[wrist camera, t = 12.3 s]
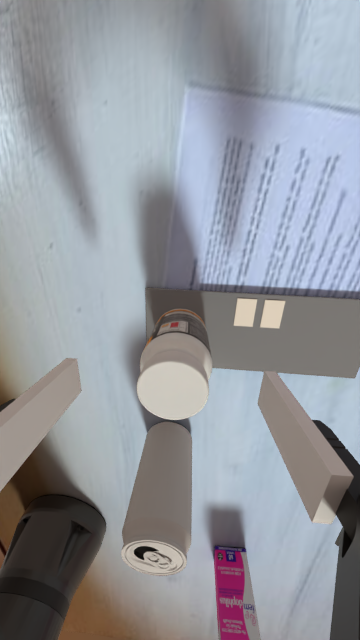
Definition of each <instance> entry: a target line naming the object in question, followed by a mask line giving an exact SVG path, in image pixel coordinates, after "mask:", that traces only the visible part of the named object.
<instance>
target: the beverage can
mask: <svg viewBox="0 0 360 640" xmlns="http://www.w3.org/2000/svg"><path fill="white" fill-rule="evenodd" d="M191 512H192V437H191V435H190V433H189V431H188V430H187V429H186V428H184V427H183V426H181V425H179V424H177V423H174V422H162V423H158V424H156V425H154V426H153V427H151V428H150V430H149V431H148V433H147V437H146V440H145V444H144V448H143V452H142V456H141V460H140V464H139V468H138V472H137V476H136V480H135V483H134V487H133V491H132V495H131V499H130V503H129V507H128V511H127V515H126V519H125V522H124V526H123V530H122V537H123V542H124V545H123V548H122V552H121V555H122V559H123V560H124V562H125V563H126V564H127V565H128V566H130V567H131V568H133V569H135V570H137V571H139V572H142V573H145V574H149V575H156V576H167V575H173V574H176V573H178V572H180V571H182V570H183V569H184V568H185V566H186V563H187V556H186V554H187V552H188V550H189V548H190V545H191Z"/></svg>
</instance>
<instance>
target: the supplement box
mask: <svg viewBox="0 0 360 640" xmlns="http://www.w3.org/2000/svg"><path fill="white" fill-rule="evenodd" d="M214 568H215V585H216V601H217V619H218V636H219V640H261V638H260V632H259V626H258V620H257V614H256V608H255V602H254V596H253V590H252V584H251V578H250V572H249V566H248V560H247V554H246V549H245V548H229V547H221V546H215V553H214Z"/></svg>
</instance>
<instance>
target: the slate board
mask: <svg viewBox="0 0 360 640" xmlns="http://www.w3.org/2000/svg"><path fill="white" fill-rule="evenodd" d="M145 291H146V343H147V342H148V340H149V338H150V336H151V334H152V331H153V329H154V327H155V325H156V323H157V322H158V320H159V319H160V317H161V316H162V315H163V314H165V313H166V312H168V311H170V310H173V309H187V310H190V311H192V312H194V313H196V314H197V315H198V316H199V317H200V318H201V319H202V320H203V322H204V324H205V327H206V331H207V335H208V341H209V346H210V350H211V357H212V368H222V369H235V370H249V371H262V372H264V371H275V372H276V373H289V374H303V375H317V376H330V377H344V378H355V377H356V375H357V372H358V370H359V367H360V299H354V298H335V297H316V296H297V295H278V294H259V293H241V292H222V291H203V290H184V289H165V288H145Z"/></svg>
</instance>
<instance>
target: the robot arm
mask: <svg viewBox="0 0 360 640" xmlns="http://www.w3.org/2000/svg"><path fill="white" fill-rule="evenodd" d="M81 391H82V390H81V383H80V376H79V369H78V362H77V359H73V358H66V359H65V360H64V361H62V362H61V363H60V364H59V365H57V366H56V367H55V368H54V369H52V370H51V371H50V372H49V373H48V374H46V375H45V376H44V377H43V378H41V379H40V380H39V381H38V382H37V383H35V384H34V385H33V386H32V387H30V388H29V389H28V390H27V391H26V392H24V393H23V394H22V395H21V396H19V397H18V398H17V399H12V400H10V401H8V402H6V403H4V404H3V405H1V406H0V491H1V490H2V489H3V487H4V486H5V485H6V484H7V483H8V481H9V480H10V479H11V478H12V476H13V475H14V474H15V473H16V471H17V470H18V469H19V468H20V466H21V465H22V464H23V463H24V462H25V460H26V459H27V458H28V457H29V455H30V454H31V453H32V452H33V450H34V449H35V448H36V447H37V446H38V444H39V443H40V442H41V441H42V439H43V438H44V437H45V436H46V434H47V433H48V432H49V431H50V429H51V428H52V427H53V426H54V425H55V423H56V422H57V421H58V420H59V418H60V417H61V416H62V415H63V413H64V412H65V411H66V410H67V409H68V407H69V406H70V405H71V404H72V402H73V401H74V400H75V399H76V397H77V396H78V395H79V394H80V392H81ZM258 405H259V408H260V410H261V412H262V414H263V416H264V419H265V421H266V423H267V425H268V427H269V430H270V432H271V434H272V436H273V438H274V440H275V443H276V445H277V447H278V449H279V451H280V454H281V456H282V458H283V460H284V462H285V464H286V467H287V469H288V471H289V473H290V475H291V478H292V480H293V482H294V484H295V486H296V488H297V491H298V493H299V495H300V497H301V499H302V502H303V504H304V506H305V508H306V510H307V512H308V515H309V517H310V519H311V521H312V522H313V523H324V524H332V522H333V520H334V518H335V516H336V515H337V517H338V519H339V520H340V522H341V524H342V526H343V528H342V530H341V532H340V534H339V536H338V538H337V540H336V542H335V544H336V545H337V546H339V554H338V563H337V573H336V583H335V593H334V603H333V613H332V622H331V632H330V640H360V465H359V463H358V462H357V461H356V460H355V458H354V457H353V456H352V455H351V454H350V452H349V451H348V450H347V449H345V446H344V445H343V444H342V443H341V441H339V439H338V438H337V436H336V435H335V434H334V433H333V431H332V430H331V429H330V428H329V427H327V426H326V425H325V424H324V423H322V422H321V421H319V420H311V418H310V417H309V416H308V414H307V413H306V412H305V410H304V409H303V408H302V406H301V405H300V404H299V402H298V401H297V400H296V398H295V397H294V395H293V394H292V393H291V391H290V390H289V389H288V387H287V386H286V385H285V383H284V382H283V381H282V379H281V378H280V377H279V375H278V374H277V373H276V372H275V371H264V375H263V380H262V384H261V389H260V394H259V399H258ZM105 532H106V524H105V521H104V519H103V518H102V516H101V515H100V514H99V513H98V512H97V511H96V510H95V509H93V508H92V507H91V506H89V505H87V504H85V503H84V502H81V501H79V500H76V499H73V498H70V497H66V496H59V495H48V496H43V497H39V498H37V499H35V500H33V501H32V502H31V503H30V505H29V506H28V508H27V509H26V511H25V512H24V514H23V515H22V517H21V519H20V521H19V523H18V525H17V528H16V531H15V533H14V536H13V538H12V541H11V544H10V546H9V549H8V551H7V554H6V556H5V559H4V562H3V564H2V567H1V569H0V640H58V637H59V634H60V631H61V629H62V626H63V623H64V620H65V617H66V614H67V611H68V609H69V606H70V603H71V600H72V598H73V596H74V594H75V592H76V590H77V588H78V587H79V585H80V583H81V581H82V580H83V578H84V576H85V574H86V573H87V571H88V569H89V567H90V565H91V564H92V562H93V560H94V558H95V557H96V555H97V553H98V551H99V549H100V547H101V544H102V541H103V538H104V535H105Z"/></svg>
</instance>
